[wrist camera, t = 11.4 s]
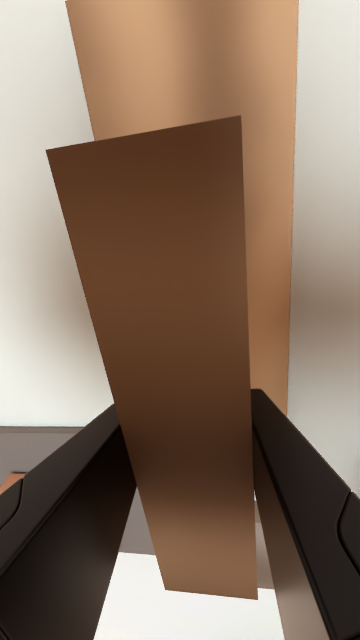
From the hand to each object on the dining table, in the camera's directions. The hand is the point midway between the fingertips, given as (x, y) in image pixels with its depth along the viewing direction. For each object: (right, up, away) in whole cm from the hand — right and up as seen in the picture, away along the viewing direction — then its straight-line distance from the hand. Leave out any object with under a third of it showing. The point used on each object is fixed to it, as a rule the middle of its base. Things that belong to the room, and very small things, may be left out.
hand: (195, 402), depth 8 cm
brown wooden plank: (0, -1, +2) cm, 2 cm away
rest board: (+1, +3, +7) cm, 8 cm away
